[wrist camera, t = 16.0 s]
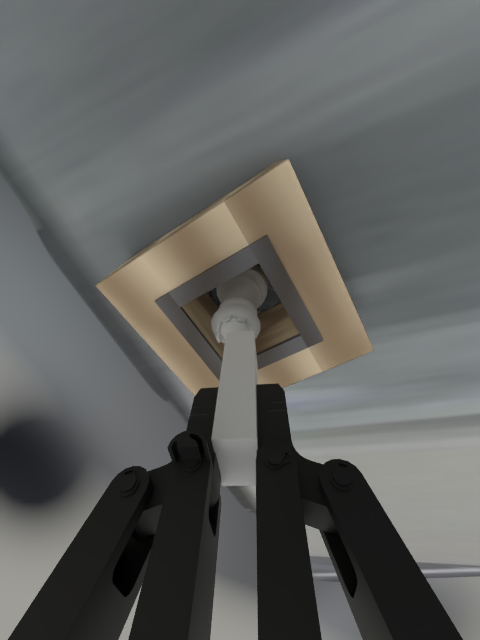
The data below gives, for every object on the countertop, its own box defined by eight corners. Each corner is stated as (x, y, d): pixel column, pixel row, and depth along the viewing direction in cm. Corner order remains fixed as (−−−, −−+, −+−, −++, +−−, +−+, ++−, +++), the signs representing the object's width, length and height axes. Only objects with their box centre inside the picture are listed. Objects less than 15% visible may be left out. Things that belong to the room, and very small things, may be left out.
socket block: (278, 160, 20) (289, 159, 14) (348, 312, 25) (375, 352, 20) (129, 258, 24) (93, 287, 18) (219, 371, 29) (212, 419, 24)
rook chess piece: (224, 309, 26) (209, 365, 19) (211, 263, 24) (189, 308, 17) (272, 301, 25) (275, 358, 18) (263, 253, 23) (263, 297, 16)
